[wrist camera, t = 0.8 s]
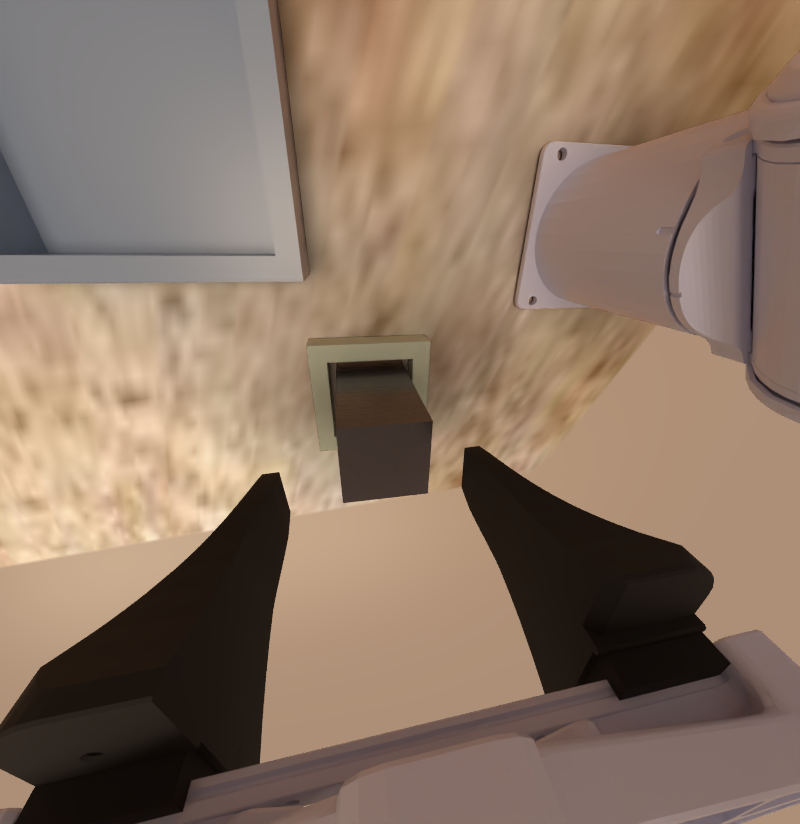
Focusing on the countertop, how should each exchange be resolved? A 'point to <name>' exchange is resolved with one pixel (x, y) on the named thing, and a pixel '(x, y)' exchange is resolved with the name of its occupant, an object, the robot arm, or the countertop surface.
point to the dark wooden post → (381, 431)
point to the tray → (146, 143)
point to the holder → (360, 350)
